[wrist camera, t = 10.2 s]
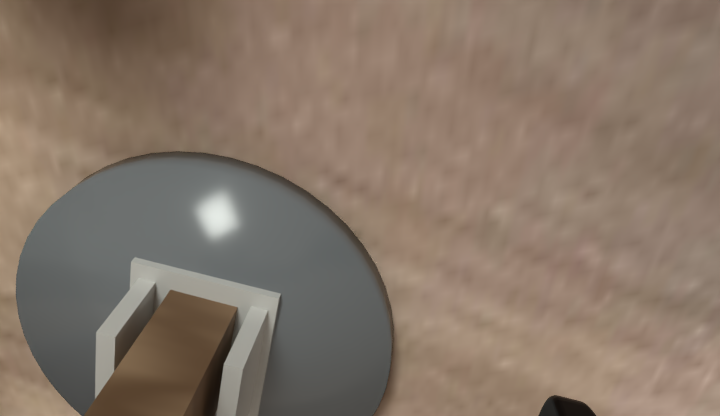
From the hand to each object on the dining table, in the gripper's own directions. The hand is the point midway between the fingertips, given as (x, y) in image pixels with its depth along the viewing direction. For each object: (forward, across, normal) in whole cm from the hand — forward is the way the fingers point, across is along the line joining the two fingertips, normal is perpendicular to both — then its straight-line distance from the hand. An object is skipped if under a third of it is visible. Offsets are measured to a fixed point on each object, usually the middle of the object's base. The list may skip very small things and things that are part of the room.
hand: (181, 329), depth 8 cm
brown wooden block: (+12, +3, +11) cm, 16 cm away
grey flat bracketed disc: (+13, +3, +11) cm, 17 cm away
